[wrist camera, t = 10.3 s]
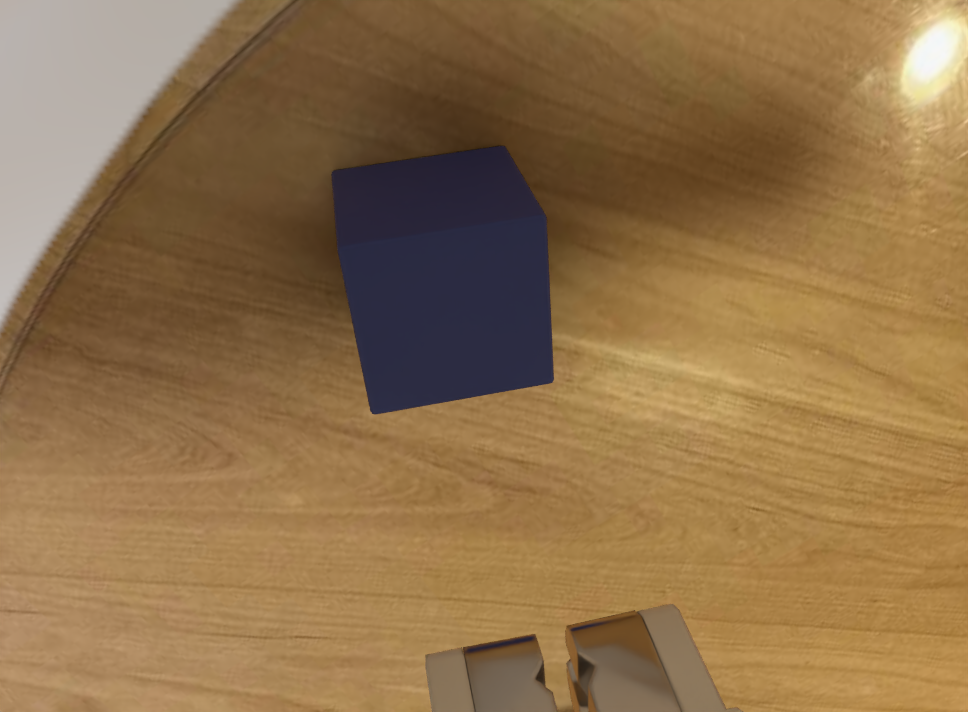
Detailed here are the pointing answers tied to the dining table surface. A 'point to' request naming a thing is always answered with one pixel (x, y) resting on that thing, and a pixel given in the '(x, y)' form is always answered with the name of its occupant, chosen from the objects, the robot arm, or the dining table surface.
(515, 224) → the blue cube
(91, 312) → the dining table surface
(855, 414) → the dining table surface
